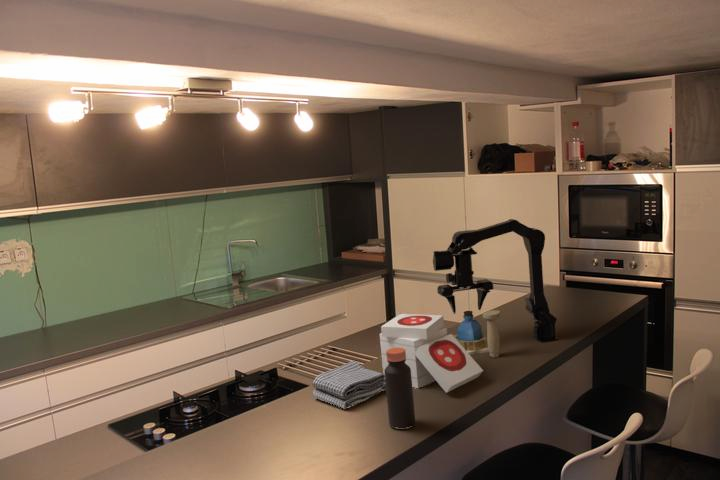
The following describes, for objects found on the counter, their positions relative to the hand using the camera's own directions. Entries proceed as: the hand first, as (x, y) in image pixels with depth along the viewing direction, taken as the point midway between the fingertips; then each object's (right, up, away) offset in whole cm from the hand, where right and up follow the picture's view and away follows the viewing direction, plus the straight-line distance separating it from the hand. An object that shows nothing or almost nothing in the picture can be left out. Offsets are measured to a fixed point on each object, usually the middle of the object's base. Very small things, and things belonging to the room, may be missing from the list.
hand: (466, 311), depth 211 cm
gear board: (+1, -13, +1) cm, 13 cm away
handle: (+7, -14, -10) cm, 19 cm away
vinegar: (-26, -23, -54) cm, 65 cm away
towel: (-40, -22, -31) cm, 55 cm away
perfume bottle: (+2, -12, +1) cm, 12 cm away
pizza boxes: (-16, -18, -25) cm, 35 cm away
